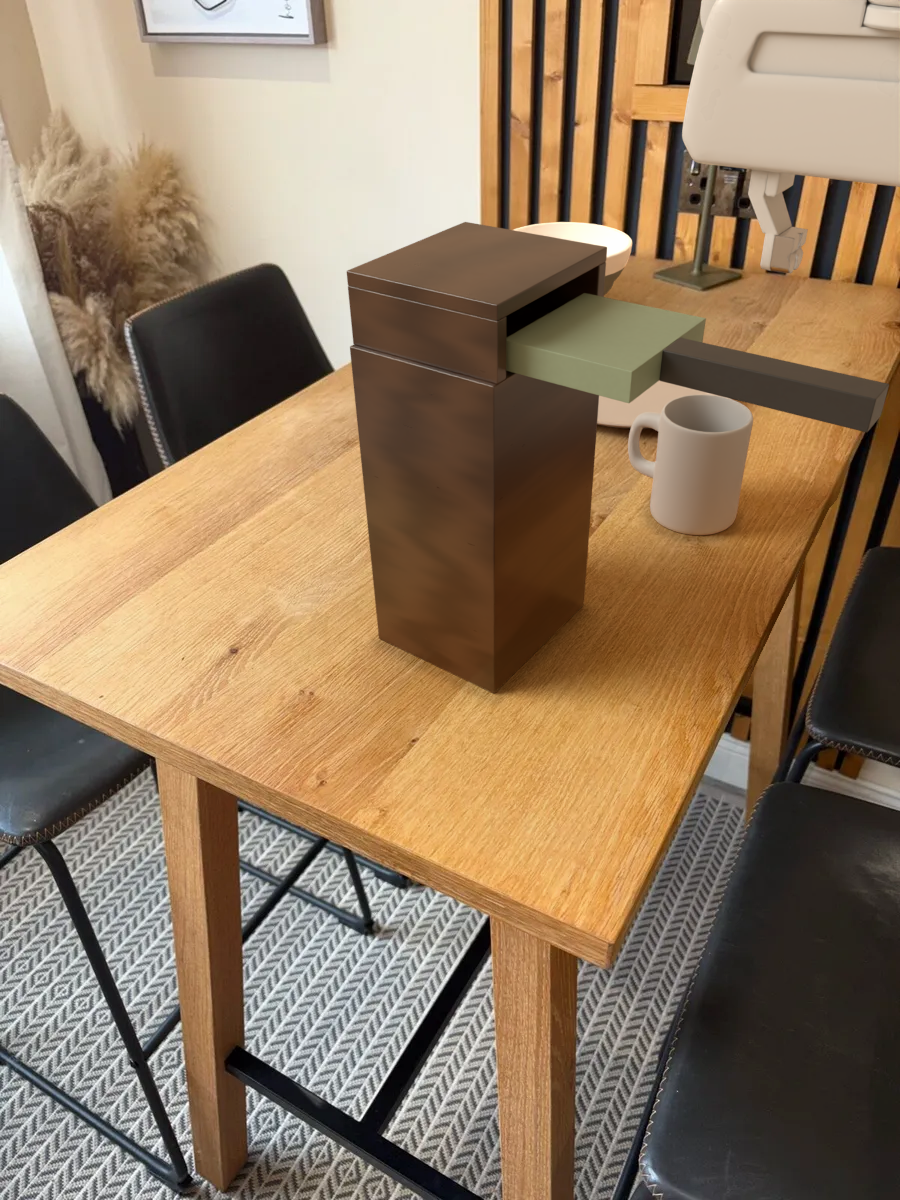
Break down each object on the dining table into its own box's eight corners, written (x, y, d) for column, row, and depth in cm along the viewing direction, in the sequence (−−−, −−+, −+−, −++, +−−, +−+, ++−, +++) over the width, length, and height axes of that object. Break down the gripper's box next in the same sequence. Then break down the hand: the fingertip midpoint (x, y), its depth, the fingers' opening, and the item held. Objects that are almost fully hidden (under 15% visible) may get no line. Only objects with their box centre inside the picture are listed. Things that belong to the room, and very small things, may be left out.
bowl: (485, 289, 148) (485, 227, 142) (603, 278, 150) (607, 217, 144) (514, 334, 132) (515, 267, 126) (645, 321, 135) (651, 254, 129)
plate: (737, 448, 104) (740, 432, 102) (511, 433, 108) (512, 417, 107) (729, 357, 123) (732, 343, 122) (539, 348, 128) (539, 334, 127)
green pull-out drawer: (900, 392, 54) (909, 360, 53) (844, 461, 48) (852, 426, 47) (582, 320, 65) (584, 292, 64) (502, 369, 59) (502, 339, 57)
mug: (750, 507, 94) (769, 407, 87) (713, 545, 88) (730, 442, 82) (644, 473, 100) (654, 378, 93) (603, 507, 94) (611, 409, 88)
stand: (584, 605, 82) (610, 244, 63) (494, 694, 73) (493, 306, 54) (474, 561, 88) (468, 219, 69) (378, 638, 79) (341, 272, 60)
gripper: (678, -73, 38) (646, 267, 46) (1300, -83, 28) (1115, 353, 36) (740, -79, 42) (699, 235, 50) (1304, -90, 32) (1136, 305, 40)
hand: (878, 285), depth 43 cm, fingers open, 8 cm apart
